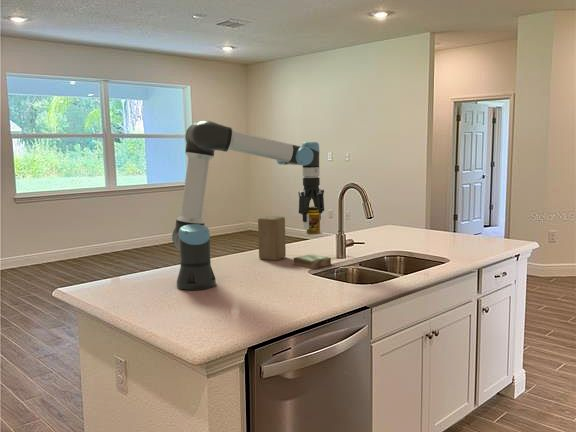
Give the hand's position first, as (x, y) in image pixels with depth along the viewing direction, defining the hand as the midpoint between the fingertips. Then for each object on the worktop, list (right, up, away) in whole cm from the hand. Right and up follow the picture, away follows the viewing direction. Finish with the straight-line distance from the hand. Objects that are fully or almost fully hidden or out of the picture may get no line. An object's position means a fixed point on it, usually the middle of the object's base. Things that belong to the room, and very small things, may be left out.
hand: (311, 228), depth 232 cm
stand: (0, -17, +2) cm, 17 cm away
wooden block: (-18, -15, +17) cm, 29 cm away
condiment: (0, -3, +1) cm, 3 cm away
